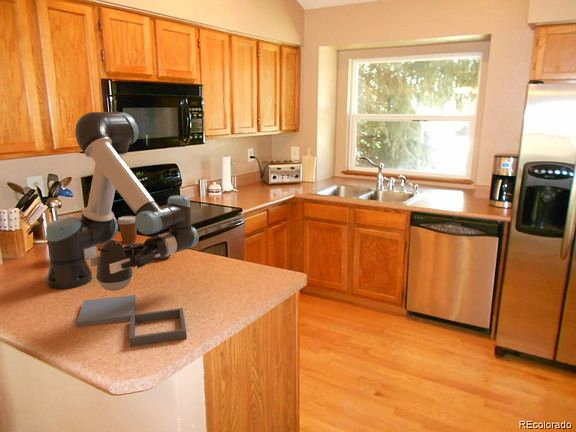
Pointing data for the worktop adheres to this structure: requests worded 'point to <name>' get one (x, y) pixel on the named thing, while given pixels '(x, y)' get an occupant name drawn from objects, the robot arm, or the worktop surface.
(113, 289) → the dark brown egg shape
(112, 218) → the robot arm
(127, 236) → the disposable coffee cup
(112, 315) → the slate-blue board
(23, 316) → the worktop surface
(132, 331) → the gray open frame
